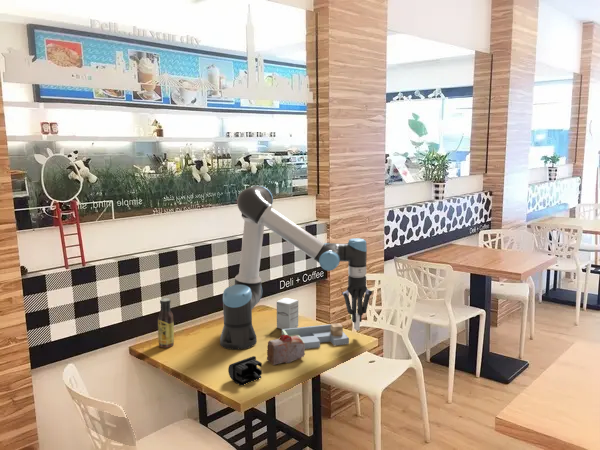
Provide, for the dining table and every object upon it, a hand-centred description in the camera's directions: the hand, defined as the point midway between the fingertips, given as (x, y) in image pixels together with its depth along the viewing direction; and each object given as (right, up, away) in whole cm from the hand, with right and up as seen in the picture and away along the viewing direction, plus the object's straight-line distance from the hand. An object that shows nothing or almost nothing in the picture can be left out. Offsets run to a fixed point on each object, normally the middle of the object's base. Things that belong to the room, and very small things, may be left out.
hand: (356, 329), depth 214 cm
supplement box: (-30, -2, +13) cm, 33 cm away
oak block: (-9, -2, -2) cm, 9 cm away
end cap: (-43, -10, -36) cm, 57 cm away
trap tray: (-18, -5, -4) cm, 19 cm away
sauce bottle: (-79, -6, -7) cm, 80 cm away
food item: (-30, -8, -21) cm, 37 cm away
